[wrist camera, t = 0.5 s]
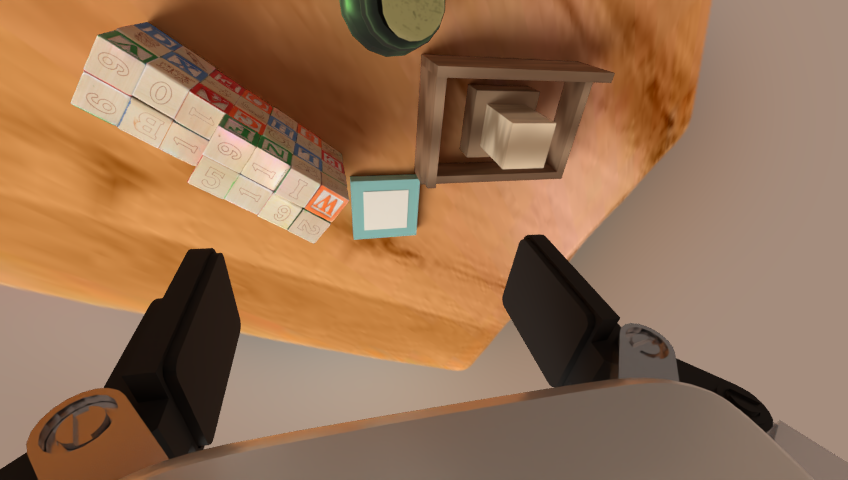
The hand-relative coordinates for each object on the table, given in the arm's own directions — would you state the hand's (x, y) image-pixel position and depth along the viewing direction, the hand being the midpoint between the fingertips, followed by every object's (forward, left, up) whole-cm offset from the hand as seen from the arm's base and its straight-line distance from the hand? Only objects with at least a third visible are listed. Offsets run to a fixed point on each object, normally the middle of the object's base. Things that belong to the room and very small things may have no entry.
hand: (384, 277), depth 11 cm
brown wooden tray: (+5, +19, -34) cm, 39 cm away
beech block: (+5, +19, -31) cm, 37 cm away
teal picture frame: (+17, +5, -34) cm, 38 cm away
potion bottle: (-7, +4, -34) cm, 35 cm away
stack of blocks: (+5, -11, -34) cm, 36 cm away
